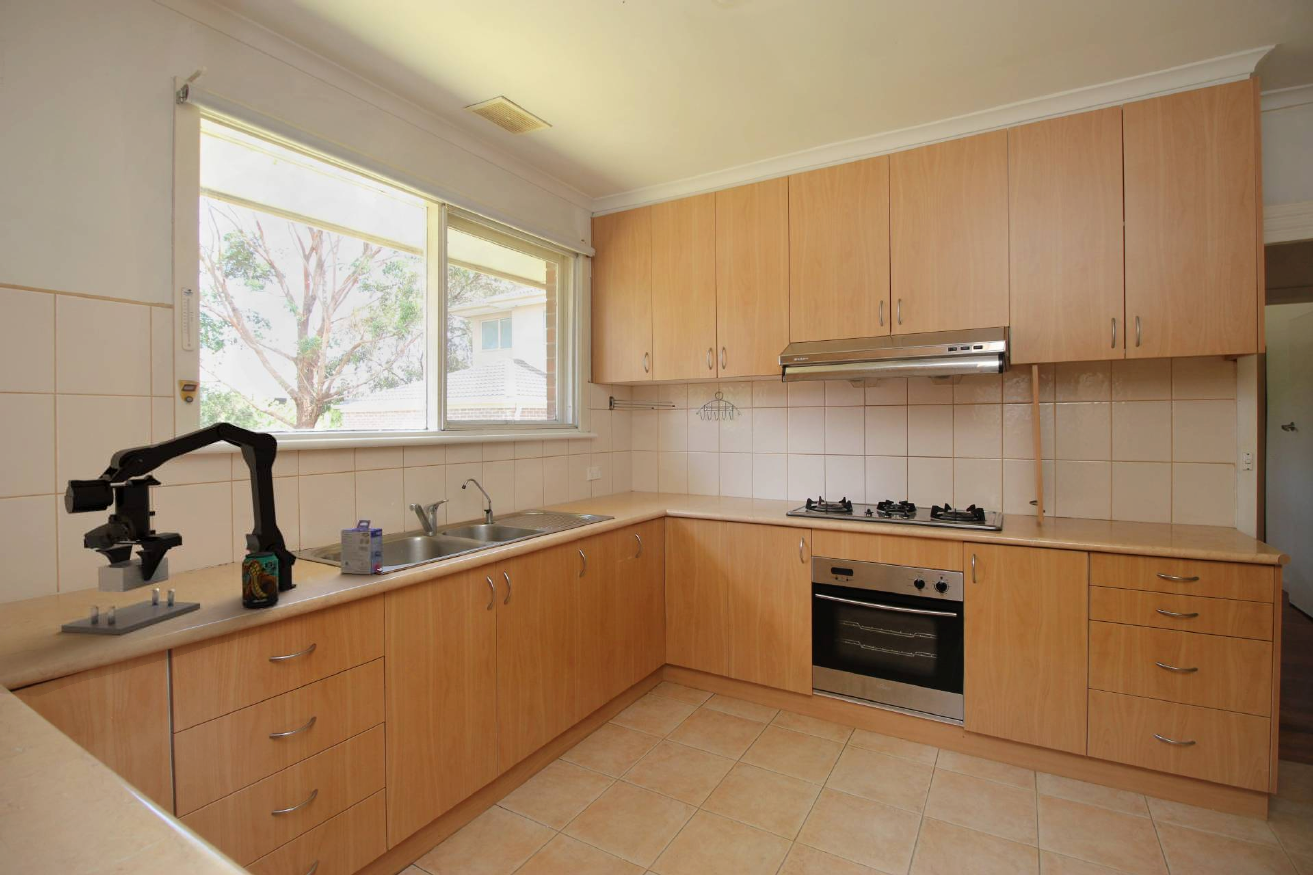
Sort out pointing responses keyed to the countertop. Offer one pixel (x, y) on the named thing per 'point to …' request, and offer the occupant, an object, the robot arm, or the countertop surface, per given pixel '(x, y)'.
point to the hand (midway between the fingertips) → (134, 580)
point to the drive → (129, 575)
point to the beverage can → (259, 580)
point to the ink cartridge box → (361, 549)
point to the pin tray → (131, 615)
